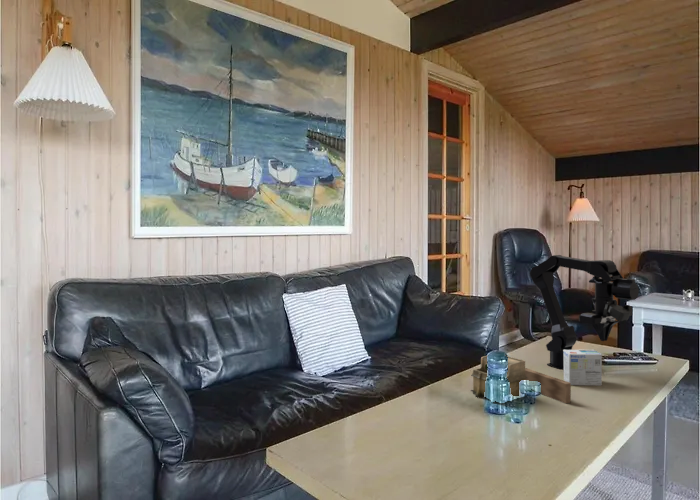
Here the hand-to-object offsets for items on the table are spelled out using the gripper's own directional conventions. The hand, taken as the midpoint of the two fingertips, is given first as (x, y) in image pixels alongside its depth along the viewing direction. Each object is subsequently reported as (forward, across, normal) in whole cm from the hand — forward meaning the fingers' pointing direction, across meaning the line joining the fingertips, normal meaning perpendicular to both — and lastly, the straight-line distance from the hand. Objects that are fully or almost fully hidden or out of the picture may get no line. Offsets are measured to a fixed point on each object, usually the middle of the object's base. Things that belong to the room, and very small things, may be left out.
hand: (603, 340), depth 169 cm
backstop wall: (+13, -31, 0) cm, 34 cm away
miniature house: (+13, -44, +5) cm, 46 cm away
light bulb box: (+13, -11, 0) cm, 17 cm away
